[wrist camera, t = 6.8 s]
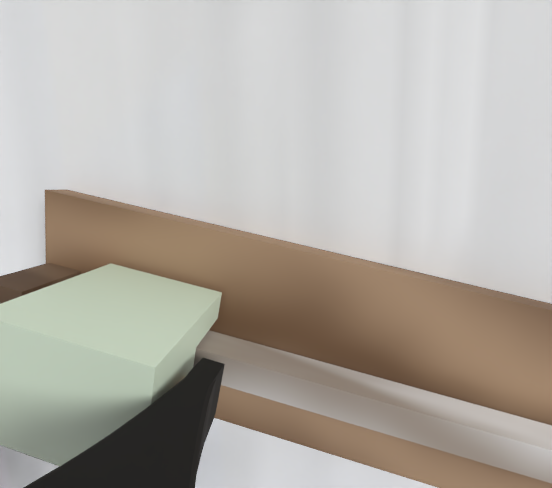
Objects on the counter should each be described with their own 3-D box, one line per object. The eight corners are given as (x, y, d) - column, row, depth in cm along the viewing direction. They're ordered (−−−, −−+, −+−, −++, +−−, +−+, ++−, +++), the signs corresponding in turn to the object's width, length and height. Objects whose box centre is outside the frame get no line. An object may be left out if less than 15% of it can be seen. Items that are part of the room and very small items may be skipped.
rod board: (623, 523, 11) (773, 684, 8) (65, 353, 14) (-24, 412, 10) (754, 351, 9) (1048, 460, 6) (66, 189, 12) (-45, 190, 8)
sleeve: (207, 377, 11) (141, 494, 7) (106, 347, 12) (-15, 440, 7) (222, 292, 10) (155, 367, 6) (110, 263, 11) (-27, 313, 6)
